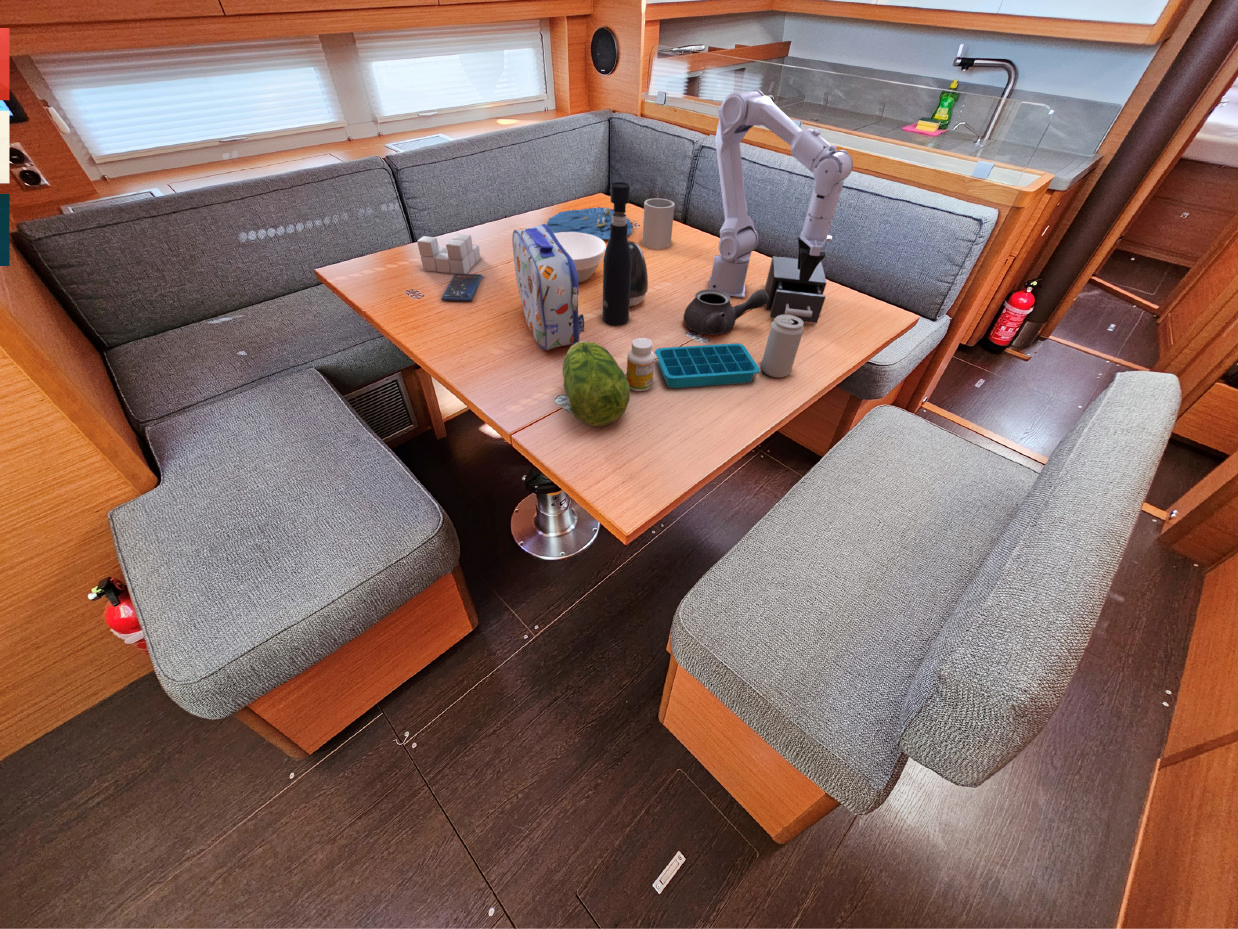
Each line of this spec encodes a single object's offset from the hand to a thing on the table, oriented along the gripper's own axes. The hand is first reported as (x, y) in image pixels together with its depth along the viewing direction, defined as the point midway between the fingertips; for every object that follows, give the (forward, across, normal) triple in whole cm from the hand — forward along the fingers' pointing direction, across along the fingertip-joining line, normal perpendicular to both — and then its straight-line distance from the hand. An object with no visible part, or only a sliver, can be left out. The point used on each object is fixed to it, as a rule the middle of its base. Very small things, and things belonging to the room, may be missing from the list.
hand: (802, 274), depth 123 cm
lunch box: (+11, -23, +57) cm, 62 cm away
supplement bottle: (+11, -40, +33) cm, 53 cm away
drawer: (+10, -1, 0) cm, 10 cm away
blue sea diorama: (+11, +46, +63) cm, 79 cm away
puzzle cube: (+11, +6, +94) cm, 95 cm away
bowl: (+11, +8, +60) cm, 61 cm away
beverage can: (+11, -28, +5) cm, 30 cm away
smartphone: (+10, -8, +85) cm, 86 cm away
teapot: (+11, -12, +17) cm, 23 cm away
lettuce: (+11, -48, +41) cm, 64 cm away
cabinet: (+10, +8, 0) cm, 13 cm away
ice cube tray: (+11, -32, +20) cm, 39 cm away
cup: (+11, +38, +40) cm, 56 cm away
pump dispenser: (+11, -4, +42) cm, 44 cm away
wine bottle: (+11, -14, +43) cm, 46 cm away
